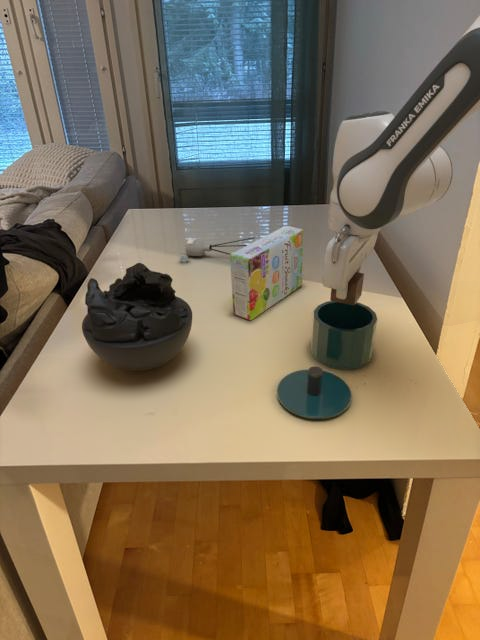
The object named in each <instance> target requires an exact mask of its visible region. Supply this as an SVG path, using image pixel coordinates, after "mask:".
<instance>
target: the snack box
mask: <svg viewBox="0 0 480 640" xmlns="http://www.w3.org/2000/svg"><path fill="white" fill-rule="evenodd" d="M246 245H247V246H242V247H241V248H239V249H237V250H235V251H234V252H231V253H229V254H230V255H229V260H230V261H229V262H230V279H231V292H232V293H231V296H232V297H231V298H232V312H233V316H237V317H240V318H243V319H245V320H248V321H252V320H254V319H255V318H256V317H258V316H260V315H262V314H263V313H264V312H265V311H267V310H268V309H269V308H271V307H273V306H275V304H277V303H278V302H280V301H281V300H283V299H285V298H286V297H287V296H288V295H290V294H293V292H295V291H296V290H298V289H299V288H300V287H302V286H303V254H304V253H303V252H304V251H303V249H304V248H303V247H304V229H302V228H299V227H293V226H290V225H284V226H282V227H280V228H278V229H276V230H275V231H272V232H271V233H269V234H267V235H264V236H263V237H261V238H258V239H257V240H254V241H253V242H251V243H249V244H246Z"/></svg>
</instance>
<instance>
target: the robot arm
mask: <svg viewBox="0 0 480 640" xmlns="http://www.w3.org/2000/svg"><path fill="white" fill-rule="evenodd" d="M479 110H480V14H479V15H478V16H477V18H476V19H475V20H474V22H472V23H471V25H469V28H467V30H466V31H465V32H464V33H463V35H461V37H460V38H459V39H458V41H457V42H455V44H454V45H453V46H452V48H451V49H450V50H449V51H448V53H446V54H445V56H444V57H442V59H441V60H440V61H439V62H438V64H436V66H435V67H434V68H433V69H432V70H431V72H430V73H429V74H428V75H427V76H426V78H425V79H424V80H423V81H422V83H421V84H420V85H419V86H418V87H417V89H416V90H415V91H414V92H413V94H411V96H410V97H409V98H408V100H407V101H406V102H405V104H404V105H403V106H402V107H401V109H400V110H399V111H398V112H397V113H396V115H394V114H393V113H391V112H389V111H385V110H378V111H377V110H376V111H370V112H364V113H358V114H351V115H350V116H347V117H345V119H343V120H342V121H341V122H340V125H339V127H338V130H337V133H336V138H335V142H334V149H333V158H332V168H331V173H332V178H333V186H332V190H331V192H330V195H329V205H328V206H329V207H328V219H327V226H328V228H329V229H330V230H331V231H334V236H333V237H332V238H331V239H330V240H329V242H328V243H327V245H326V248H325V253H324V257H323V266H322V273H321V284H322V286H323V287H324V288H327V289H331V288H332V289H337V291H336V297H337V298H339V299H346V297H347V296H348V291H349V288H348V282H349V281H350V279H351V278H352V277H353V275H354V274H355V273H356V272H358V273H361V269H362V266H363V263H364V262H365V261H366V260H367V258H368V256H369V255H370V254H371V253H372V251H373V250H374V248H375V246H376V243H377V240H378V235H379V232H380V231H381V230H382V227H385V226H386V225H388V224H390V223H392V222H393V221H395V220H397V219H399V218H401V217H404V216H406V215H409V214H412V213H414V212H416V211H418V210H421V209H423V208H426V207H427V206H430V205H433V204H434V203H435V202H437V201H439V200H441V199H442V198H443V197H444V196H445V195H446V194H447V192H448V191H449V188H450V186H451V183H452V180H453V164H452V160H451V158H450V156H449V153H448V152H447V151H446V149H445V148H444V147H443V146H442V145H443V144H444V143H445V141H447V139H448V138H449V137H450V136H451V135H452V134H453V133H454V132H455V130H457V128H458V127H459V126H460V125H462V123H464V122H465V121H466V120H467V119H469V118H470V117H471V116H472V115H473V114H475V113H476V112H477V111H479Z"/></svg>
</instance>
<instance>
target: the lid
mask: <svg viewBox="0 0 480 640" xmlns="http://www.w3.org/2000/svg"><path fill="white" fill-rule="evenodd" d="M276 395H277V398H278V401H279V402H280V404H281V405H282V406H283V407H284V409H286V410H287V411H289V412H290V413H292V414H293V415H296V416H299V417H301V418H305V419H311V420H327V419H331V418H334V417H337V416H339V415H341V414H342V413H344V412H345V411H346V410H347V409H348V408H349V406H350V404H351V401H352V391H351V389H350V386H349V385H348V384H347V382H346V381H344V379H342V378H341V377H339V376H338V375H336V374H334V373H331V372H328V371H326V370H323V368H321V367H320V366H310V367H309V368H308V369H300V370H296V371H293V372H291V373H289V374H287V375H286V376H284V377H283V378H282V379H281V380H280V381H279V383H278V385H277V390H276Z"/></svg>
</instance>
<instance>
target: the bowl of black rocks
mask: <svg viewBox="0 0 480 640" xmlns="http://www.w3.org/2000/svg"><path fill="white" fill-rule="evenodd" d="M172 283H173V278H172V277H171V275H170V274H168V273H163V272H159V271H154V270H151V269H150V268H148V266H146V265H145V264H144V263H141V262H137V263H135V264H133V265H132V266H129V267H126V268H125V274H124V275H123V277H122V278H120V277H118V278H116V279H115V281H114V282H113V283H111V284H110V285H109V287H108V288H109V290H101V287H100V286H99V285H100V284H99V282H98V280H97V279H96V278H93V277H91V278H89V280H88V282H87V285H86V289H87V291H86V293H85V297H84V300H85V301H84V303H85V305H86V307H87V308H86V309H87V311H86V312H87V313H86V315H85V316H84V318H83V320H82V323H81V330H82V334H83V337H84V339H85V341H86V343H87V345H88V347H89V348H90V349H91V351H92V352H93V353H94V354H95V356H97V357H98V358H99V359H101V360H102V361H103V362H104V363H106V364H108V365H110V366H112V367H114V368H116V369H119V370H123V371H129V372H144V371H151V370H154V369H157V368H159V367H162V366H163V365H165V364H167V363H168V362H170V361H171V360H172V359H174V358H175V357H176V356H177V355H178V354H179V353H180V352H181V351H182V349H183V348H184V347H185V345H186V342H187V341H188V338H189V336H190V333H191V330H192V325H193V311H192V308H191V306H190V305H189V303H188V302H186V301H185V300H184V299H183V298H181V297H179V296H176V290H175V289H174V288H173V287H172Z"/></svg>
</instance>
